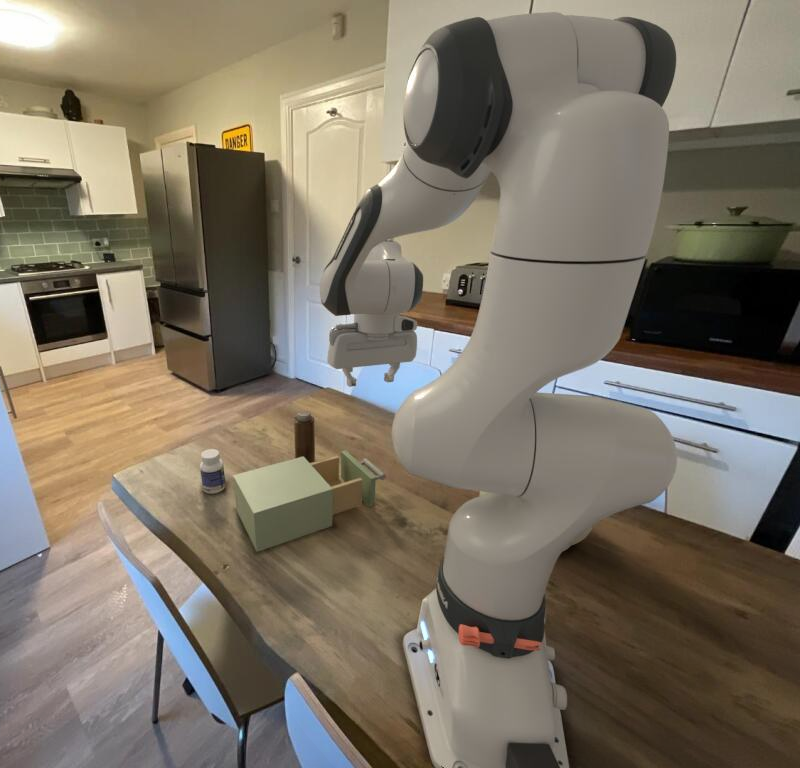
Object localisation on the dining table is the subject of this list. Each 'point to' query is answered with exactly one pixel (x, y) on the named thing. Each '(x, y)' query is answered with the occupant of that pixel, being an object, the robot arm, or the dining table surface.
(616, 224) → the robot arm
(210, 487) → the pill bottle
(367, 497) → the drawer
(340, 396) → the dining table surface
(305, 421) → the pepper mill
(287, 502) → the cabinet
